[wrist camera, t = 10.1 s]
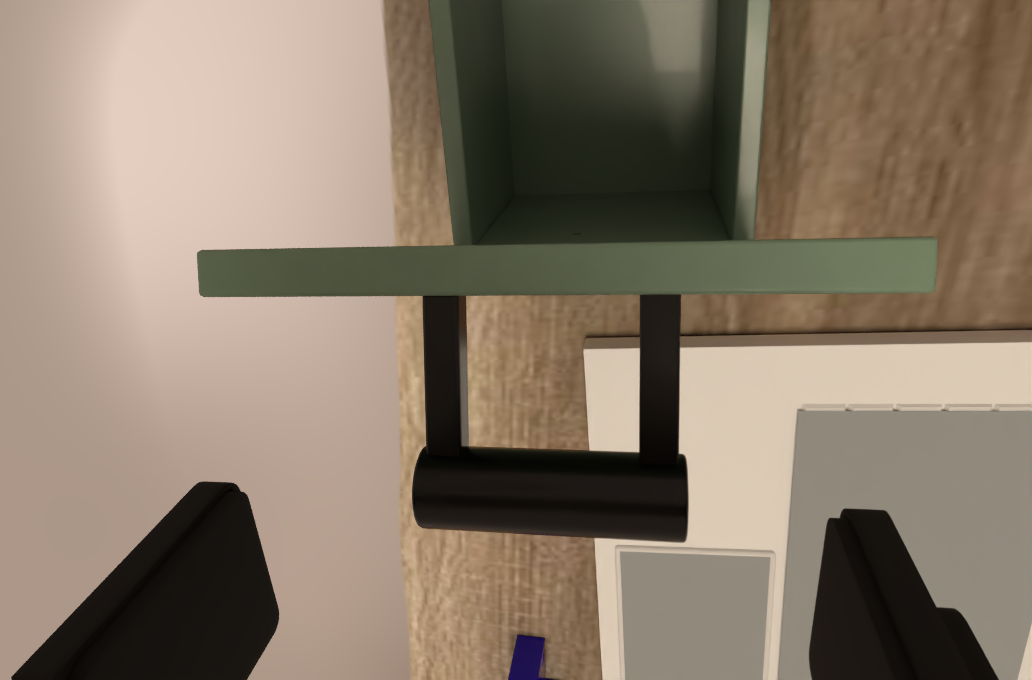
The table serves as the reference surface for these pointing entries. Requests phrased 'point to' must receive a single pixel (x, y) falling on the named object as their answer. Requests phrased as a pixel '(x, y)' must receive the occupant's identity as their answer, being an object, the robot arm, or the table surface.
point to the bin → (601, 118)
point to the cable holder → (528, 659)
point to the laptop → (819, 492)
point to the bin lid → (566, 271)
